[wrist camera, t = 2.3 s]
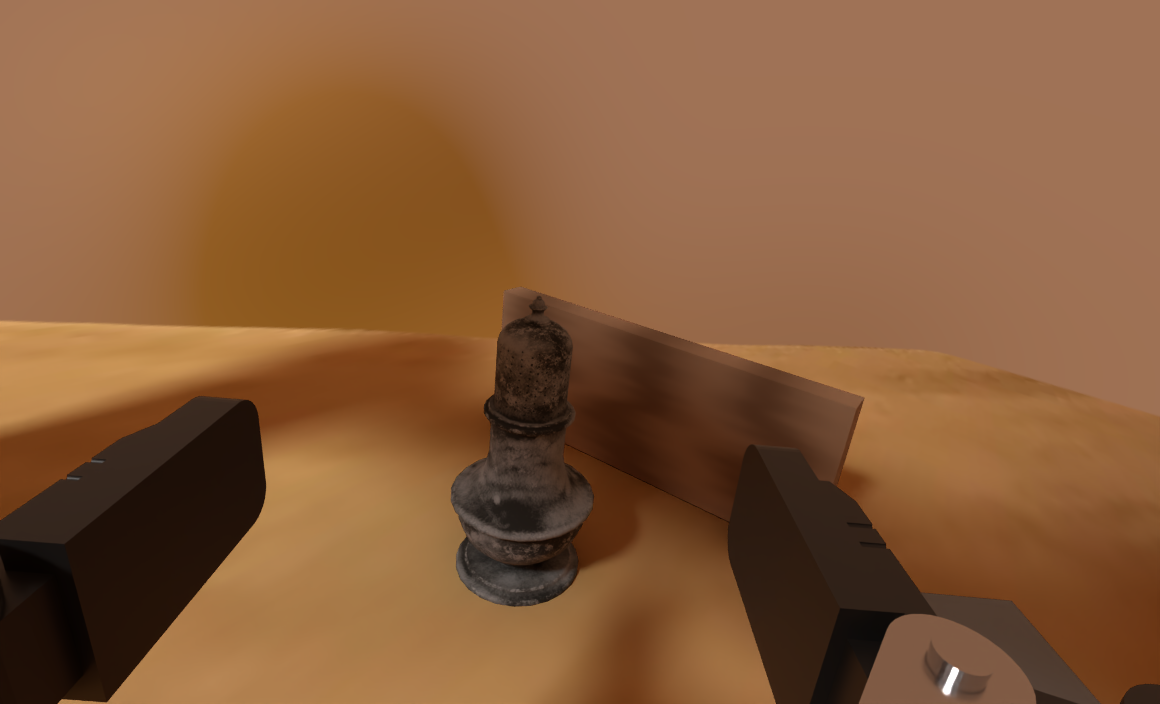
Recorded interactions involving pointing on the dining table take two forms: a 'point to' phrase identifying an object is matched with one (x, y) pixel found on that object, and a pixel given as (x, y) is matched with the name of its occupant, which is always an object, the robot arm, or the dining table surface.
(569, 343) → the dark metal turned piece
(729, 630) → the dining table surface
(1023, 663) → the dark mat
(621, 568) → the dining table surface
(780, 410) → the walnut screen
